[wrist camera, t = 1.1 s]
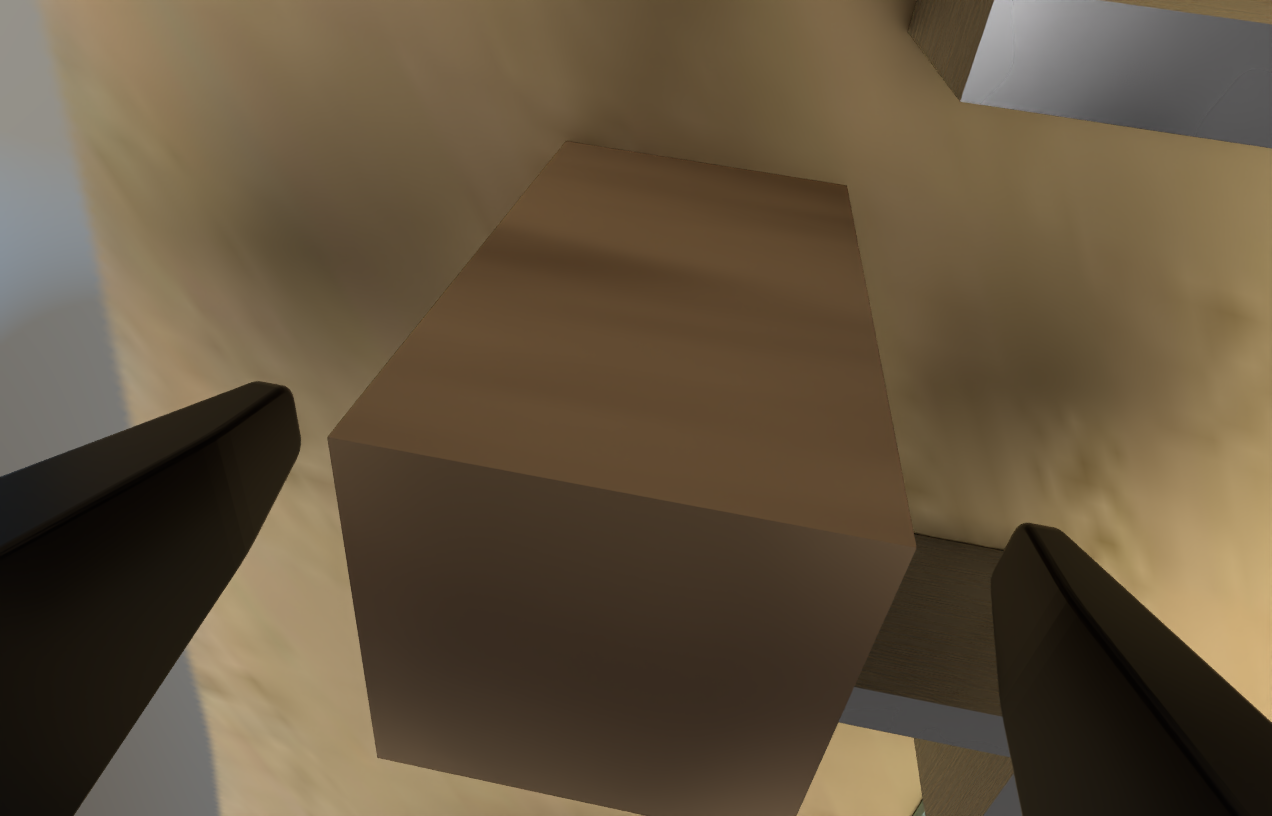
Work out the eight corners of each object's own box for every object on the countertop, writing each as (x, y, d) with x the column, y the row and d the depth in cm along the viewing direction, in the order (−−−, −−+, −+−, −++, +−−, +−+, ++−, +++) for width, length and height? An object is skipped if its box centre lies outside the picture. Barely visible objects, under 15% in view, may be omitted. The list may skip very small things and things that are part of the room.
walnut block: (783, 416, 15) (783, 844, 8) (553, 374, 15) (377, 757, 9) (847, 185, 12) (915, 547, 6) (566, 140, 12) (327, 436, 6)
